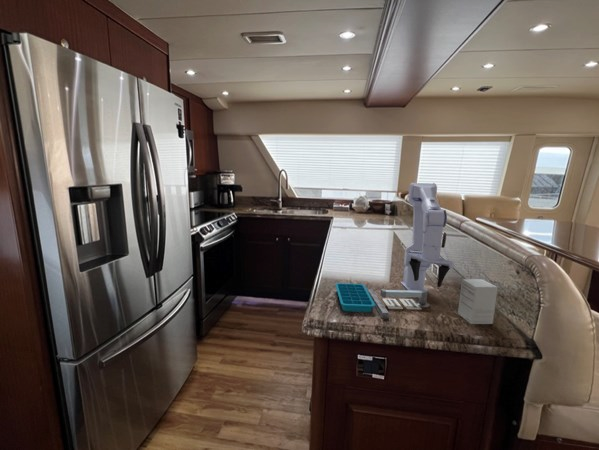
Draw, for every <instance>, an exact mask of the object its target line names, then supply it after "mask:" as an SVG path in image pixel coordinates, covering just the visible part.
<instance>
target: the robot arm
mask: <svg viewBox="0 0 599 450" xmlns="http://www.w3.org/2000/svg"><path fill="white" fill-rule="evenodd" d="M437 191H438V185H437V184H436V183H435V182H434V183H433V182H432V183H429V182H428V183H427V182H425V183H424V182H423V183H422V182H421V183H420V182H411V183H410V184H409V187H408V203H409V205H412V209H413V217H412V220H413V222H412V243H411V244H410V245H408V246H406V247H405V249H404V254H403V255H404V257H403V264H404V266H405V267H404V269H403V278H402V281H400V284H402V286H403V287H404V288H405V290H413V291H420V290H424V291H427V292H429V289H427V288H426V287H425V284H426V283H425V282H426V273H427V271H428V269H429V268H430V267H431V266H432V265H437V266H439V267H438V276H437V277H438V279H437V284H436V285H437V286H436V287H437V288H441V287H442V284H443V282H444V279H445V277H446V275H447V274H448V272H449V271H450V270H451V269H453V268H455V267H454V266H455V261H454V260H453V261H452V260H449V259H445V258H442V257H441V248H442V242H443V241H442V239H443V232H444V228H446V225H447V223H448V221H447V220H448V213H447V210H446V209H441V205H440V203H439V201H438V199H437V198H436V197H437Z"/></svg>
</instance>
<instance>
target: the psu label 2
mask: <svg viewBox="0 0 599 450" xmlns="http://www.w3.org/2000/svg"><path fill="white" fill-rule="evenodd" d="M398 300H399V301H400V303H401V304H402V305H403V306H404V307H405V308H406V309H407V310H419V311H421V310H422V307H419V306H418V305H417V304H416V303H415V302H416V301H415V300H414V299H413V298H398Z"/></svg>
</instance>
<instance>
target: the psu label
mask: <svg viewBox="0 0 599 450" xmlns="http://www.w3.org/2000/svg"><path fill="white" fill-rule="evenodd" d="M381 300H382V301H383V303H384V304H385V305H386V307H387V308H388V309H389V310H404V308H403V306H402V305H401V304H400V302H399V301H398V300H397V299H396V298H384V297H381Z"/></svg>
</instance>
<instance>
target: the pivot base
mask: <svg viewBox="0 0 599 450" xmlns="http://www.w3.org/2000/svg"><path fill="white" fill-rule="evenodd" d="M418 301H419V300H416V301H415V303H416V304H417V305H418V306H419V307H420V308H424V309H426V308H430V303H428V302H426V304H425V305H422V304H419V303H418Z"/></svg>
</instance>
